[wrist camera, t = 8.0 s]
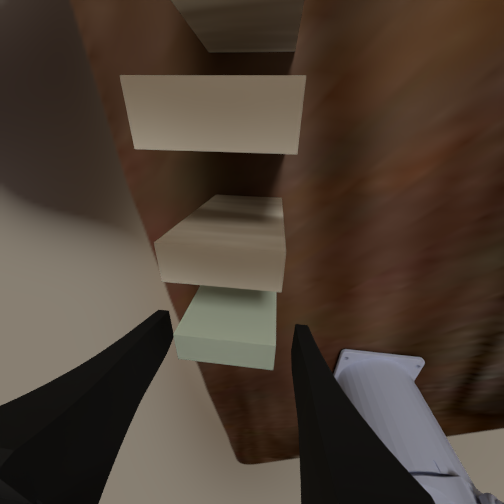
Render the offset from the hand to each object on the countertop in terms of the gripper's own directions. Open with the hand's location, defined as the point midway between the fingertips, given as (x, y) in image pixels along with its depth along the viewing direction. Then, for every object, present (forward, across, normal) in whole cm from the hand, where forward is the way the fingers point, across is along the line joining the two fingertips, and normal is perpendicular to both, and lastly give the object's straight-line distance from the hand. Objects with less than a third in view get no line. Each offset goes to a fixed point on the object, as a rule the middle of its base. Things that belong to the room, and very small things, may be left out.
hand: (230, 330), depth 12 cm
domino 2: (+7, 0, -5) cm, 9 cm away
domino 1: (+8, 0, 0) cm, 8 cm away
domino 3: (+7, 0, -10) cm, 13 cm away
